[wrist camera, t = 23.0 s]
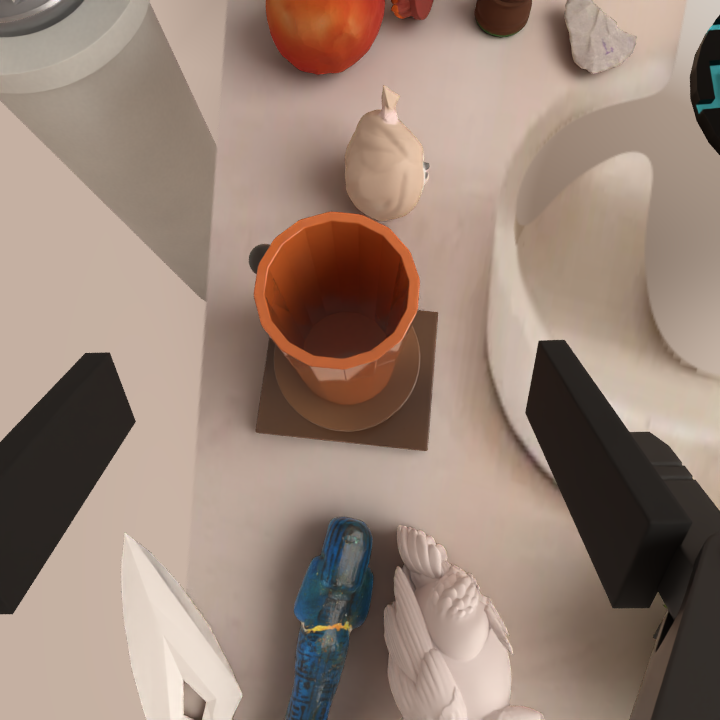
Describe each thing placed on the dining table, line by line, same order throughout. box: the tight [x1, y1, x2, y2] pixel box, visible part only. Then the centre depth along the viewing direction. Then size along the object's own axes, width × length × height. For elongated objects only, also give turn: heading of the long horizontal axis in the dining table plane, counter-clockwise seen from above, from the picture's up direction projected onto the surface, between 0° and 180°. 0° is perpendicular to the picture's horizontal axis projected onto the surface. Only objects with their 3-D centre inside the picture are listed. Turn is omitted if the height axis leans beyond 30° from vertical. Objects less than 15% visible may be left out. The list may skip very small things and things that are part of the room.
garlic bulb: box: [345, 85, 429, 221], centre depth 34 cm, size 7×6×8 cm
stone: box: [564, 0, 637, 74], centre depth 40 cm, size 6×8×2 cm
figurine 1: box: [285, 517, 373, 720], centre depth 30 cm, size 5×4×15 cm
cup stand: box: [249, 244, 438, 451], centre depth 30 cm, size 10×12×11 cm
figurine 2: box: [384, 525, 544, 720], centre depth 28 cm, size 8×15×13 cm
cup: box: [254, 212, 420, 405], centre depth 23 cm, size 6×6×12 cm
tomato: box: [266, 0, 385, 75], centre depth 36 cm, size 9×9×8 cm
